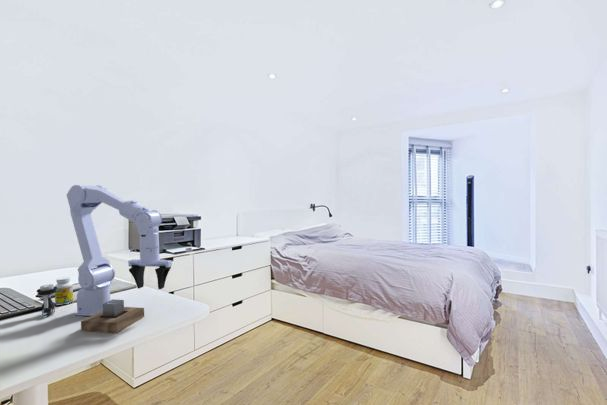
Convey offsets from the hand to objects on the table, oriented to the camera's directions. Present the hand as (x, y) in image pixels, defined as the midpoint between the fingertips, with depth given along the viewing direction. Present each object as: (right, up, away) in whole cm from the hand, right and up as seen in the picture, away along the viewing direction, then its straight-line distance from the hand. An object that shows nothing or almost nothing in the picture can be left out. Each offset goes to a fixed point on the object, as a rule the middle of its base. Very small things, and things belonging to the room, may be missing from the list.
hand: (150, 288), depth 103 cm
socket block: (-9, -10, -5) cm, 14 cm away
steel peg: (-9, -10, -6) cm, 14 cm away
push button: (-36, -10, +2) cm, 37 cm away
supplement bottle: (-39, -10, +14) cm, 43 cm away
